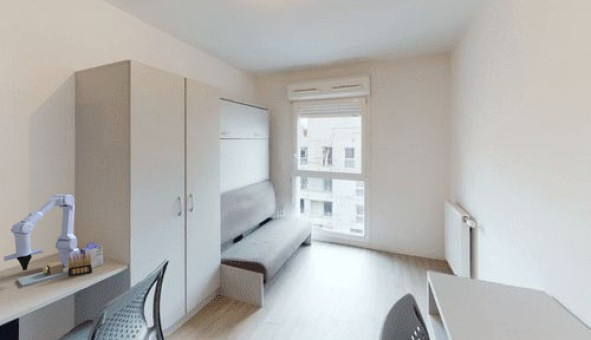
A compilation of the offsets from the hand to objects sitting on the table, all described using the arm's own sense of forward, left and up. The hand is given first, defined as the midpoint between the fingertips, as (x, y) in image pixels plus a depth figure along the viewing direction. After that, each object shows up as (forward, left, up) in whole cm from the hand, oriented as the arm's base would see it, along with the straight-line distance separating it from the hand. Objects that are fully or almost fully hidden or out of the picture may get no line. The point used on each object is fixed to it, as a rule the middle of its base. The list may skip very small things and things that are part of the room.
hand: (24, 269), depth 145 cm
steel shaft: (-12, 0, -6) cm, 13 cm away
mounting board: (-7, 0, -7) cm, 10 cm away
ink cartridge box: (-29, +4, -7) cm, 30 cm away
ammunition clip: (-21, +11, -7) cm, 25 cm away
